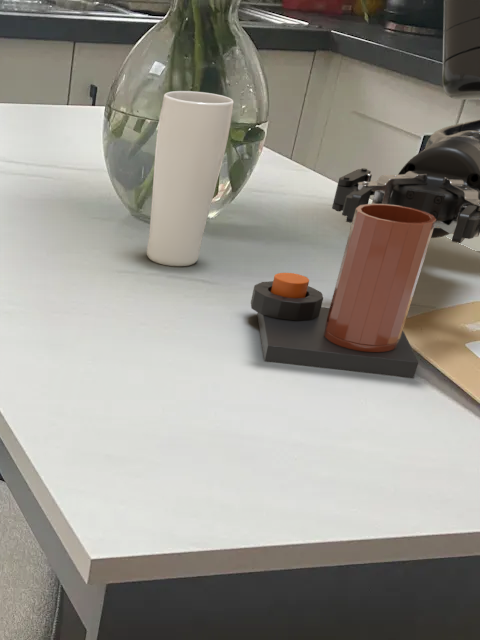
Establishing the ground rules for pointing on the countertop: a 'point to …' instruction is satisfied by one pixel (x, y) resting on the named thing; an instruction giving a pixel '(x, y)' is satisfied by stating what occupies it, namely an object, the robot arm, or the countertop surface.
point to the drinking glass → (186, 173)
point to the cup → (378, 276)
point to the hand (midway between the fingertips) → (405, 219)
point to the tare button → (290, 285)
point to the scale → (318, 337)
